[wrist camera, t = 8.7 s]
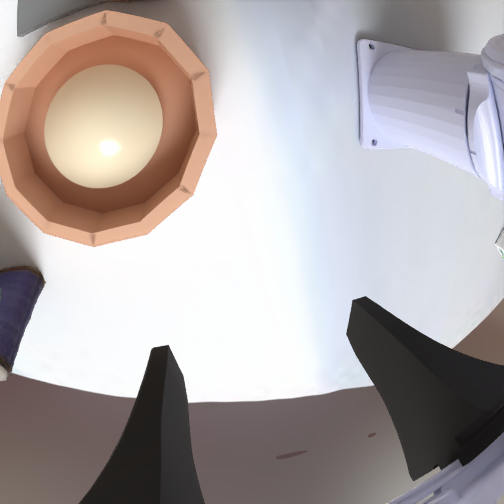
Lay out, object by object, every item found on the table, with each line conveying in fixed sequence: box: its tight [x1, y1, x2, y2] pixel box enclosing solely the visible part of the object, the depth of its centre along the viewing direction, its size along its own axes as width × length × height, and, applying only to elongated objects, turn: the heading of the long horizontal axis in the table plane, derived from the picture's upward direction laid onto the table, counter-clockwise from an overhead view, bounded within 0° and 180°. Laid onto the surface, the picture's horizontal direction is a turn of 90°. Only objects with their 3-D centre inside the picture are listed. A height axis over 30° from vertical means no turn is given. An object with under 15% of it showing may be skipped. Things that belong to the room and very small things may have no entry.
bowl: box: [0, 10, 217, 247], centre depth 13 cm, size 12×12×4 cm
